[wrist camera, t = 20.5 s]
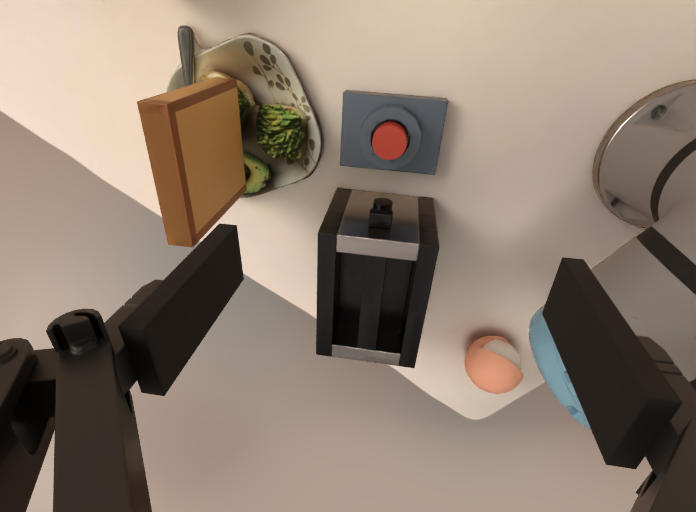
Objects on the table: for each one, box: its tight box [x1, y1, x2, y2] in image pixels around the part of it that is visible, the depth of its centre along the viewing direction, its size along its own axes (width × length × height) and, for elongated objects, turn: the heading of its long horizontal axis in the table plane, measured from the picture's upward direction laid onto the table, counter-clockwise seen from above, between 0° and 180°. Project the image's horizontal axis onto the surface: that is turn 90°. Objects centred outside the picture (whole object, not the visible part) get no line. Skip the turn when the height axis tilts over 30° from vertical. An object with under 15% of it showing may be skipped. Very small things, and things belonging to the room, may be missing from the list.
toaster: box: [316, 188, 439, 368], centre depth 48 cm, size 12×19×12 cm, turn 177°
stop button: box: [372, 122, 407, 160], centre depth 41 cm, size 4×4×2 cm
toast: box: [137, 77, 247, 247], centre depth 37 cm, size 2×12×14 cm, turn 177°
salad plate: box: [167, 26, 322, 198], centre depth 44 cm, size 19×18×5 cm
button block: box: [340, 90, 448, 175], centre depth 43 cm, size 11×8×4 cm
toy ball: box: [465, 336, 523, 394], centre depth 56 cm, size 8×8×8 cm
